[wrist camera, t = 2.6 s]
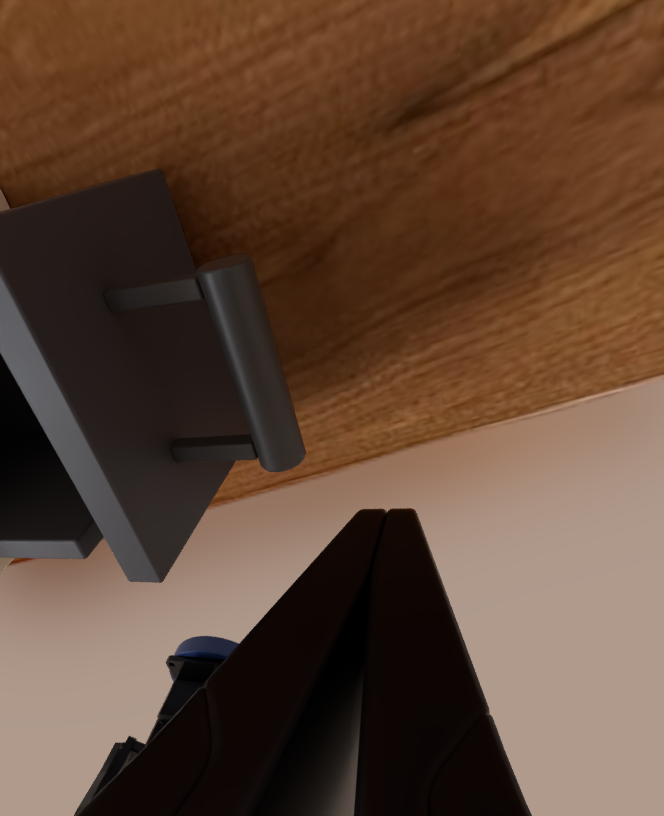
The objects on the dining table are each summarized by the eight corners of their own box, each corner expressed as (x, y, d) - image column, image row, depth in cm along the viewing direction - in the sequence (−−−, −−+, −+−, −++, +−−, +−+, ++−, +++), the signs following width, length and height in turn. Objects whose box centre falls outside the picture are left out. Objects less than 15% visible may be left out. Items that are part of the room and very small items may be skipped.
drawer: (283, 140, 16) (156, 180, 9) (349, 429, 21) (296, 588, 14) (-114, 231, 20) (-384, 300, 14) (17, 448, 25) (-136, 574, 19)
